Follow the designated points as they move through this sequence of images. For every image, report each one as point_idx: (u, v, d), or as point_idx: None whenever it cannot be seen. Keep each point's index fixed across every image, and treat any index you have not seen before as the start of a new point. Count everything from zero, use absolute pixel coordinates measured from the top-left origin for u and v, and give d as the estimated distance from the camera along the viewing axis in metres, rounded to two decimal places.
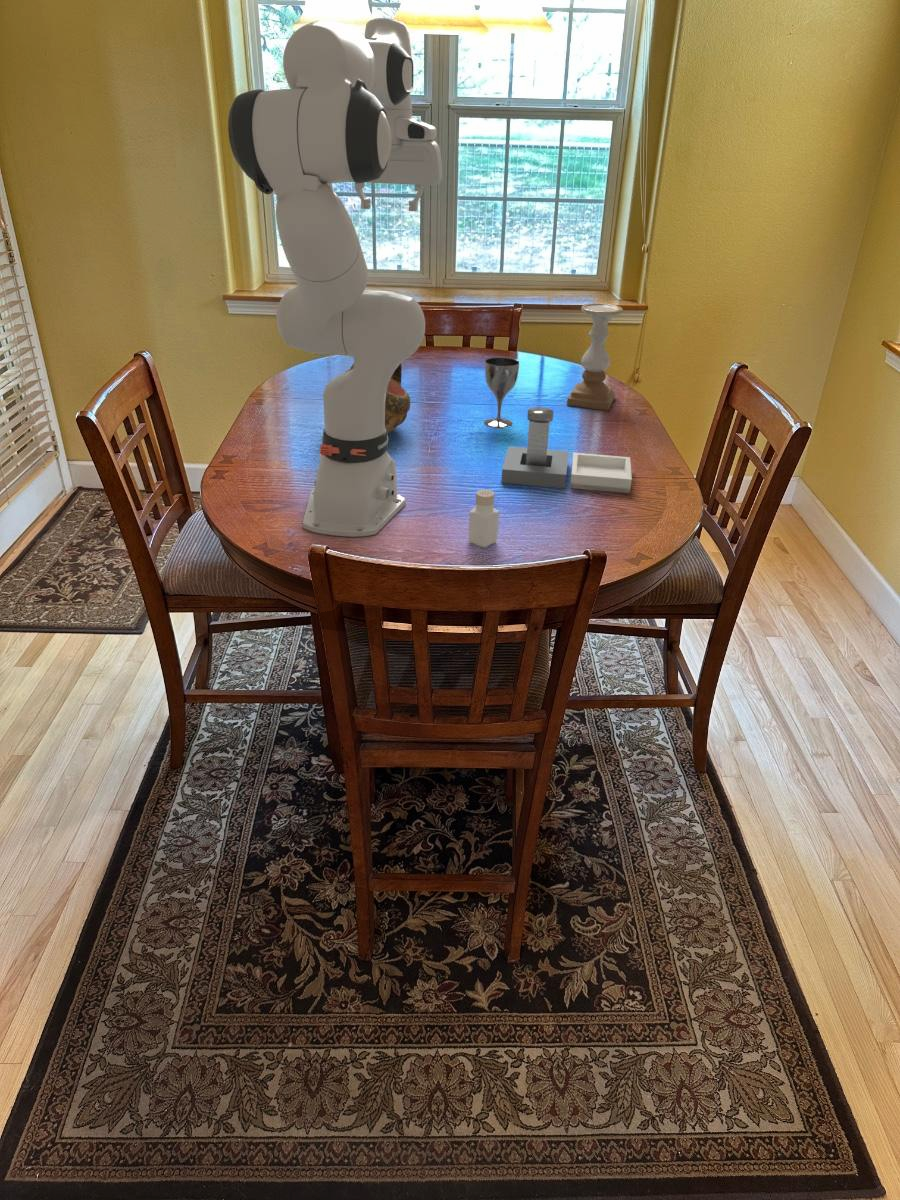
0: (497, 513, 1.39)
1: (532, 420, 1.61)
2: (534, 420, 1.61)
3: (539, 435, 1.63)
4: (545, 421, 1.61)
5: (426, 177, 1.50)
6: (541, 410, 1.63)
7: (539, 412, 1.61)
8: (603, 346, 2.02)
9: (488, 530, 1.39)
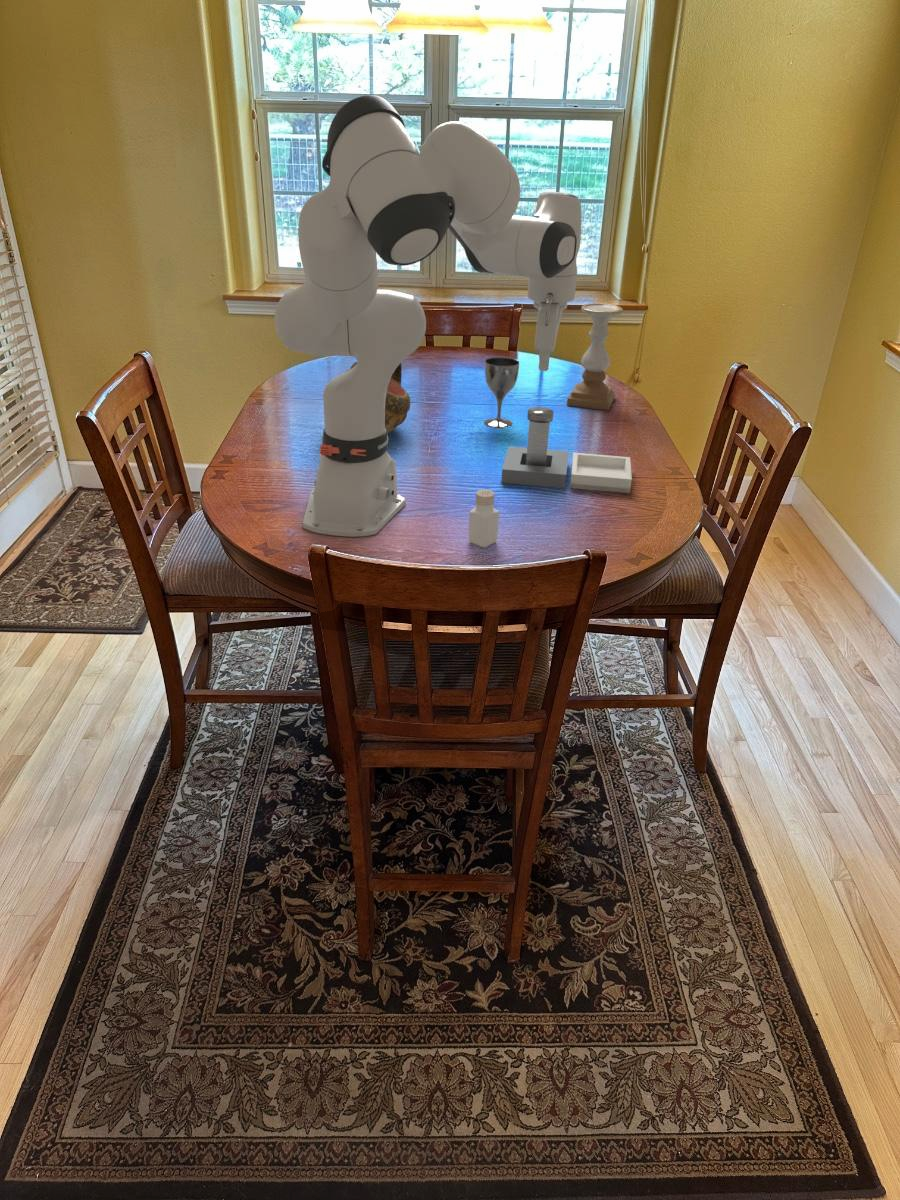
0: (497, 513, 1.39)
1: (532, 420, 1.61)
2: (534, 420, 1.61)
3: (539, 435, 1.63)
4: (545, 421, 1.61)
5: (559, 322, 1.60)
6: (541, 410, 1.63)
7: (539, 412, 1.61)
8: (603, 346, 2.02)
9: (488, 530, 1.39)
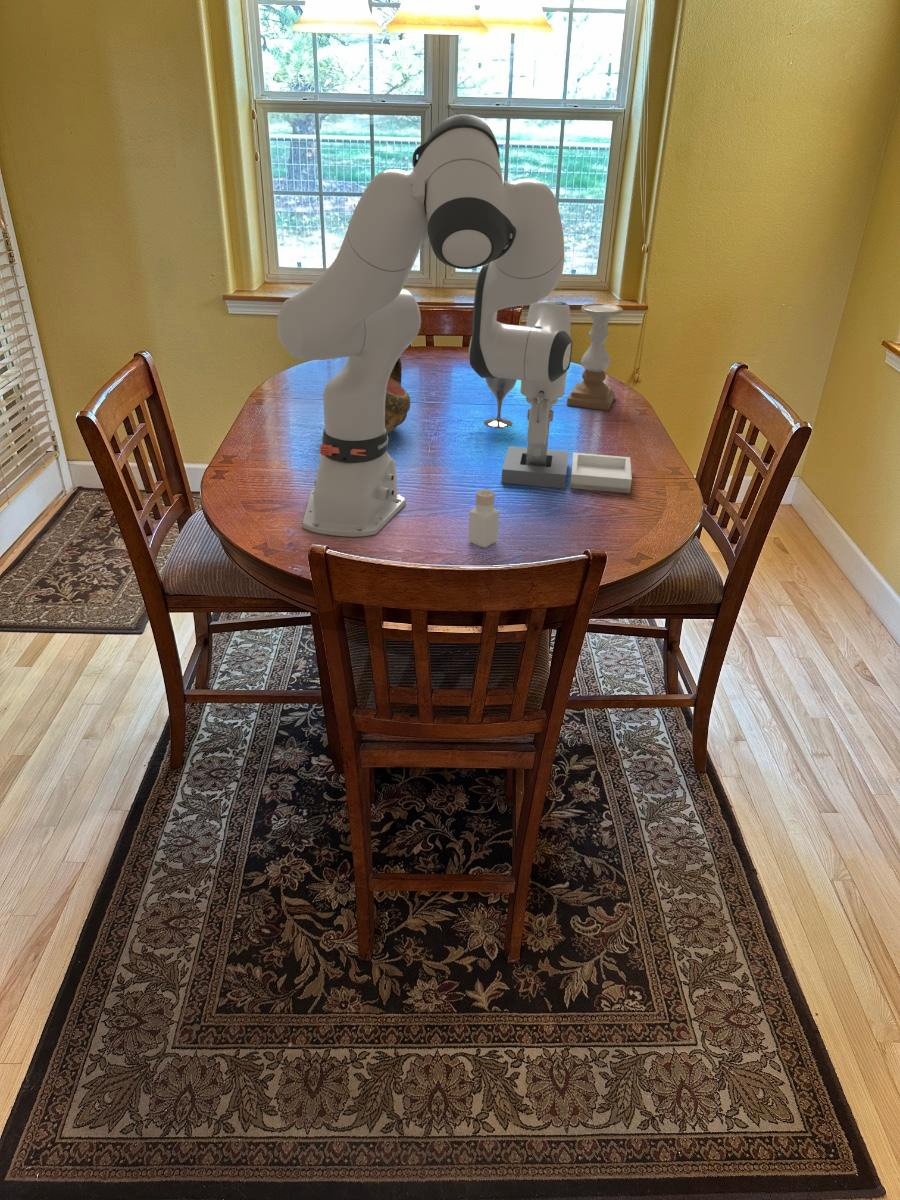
0: (497, 513, 1.39)
1: None
2: None
3: None
4: None
5: None
6: None
7: None
8: (603, 346, 2.02)
9: (488, 530, 1.39)
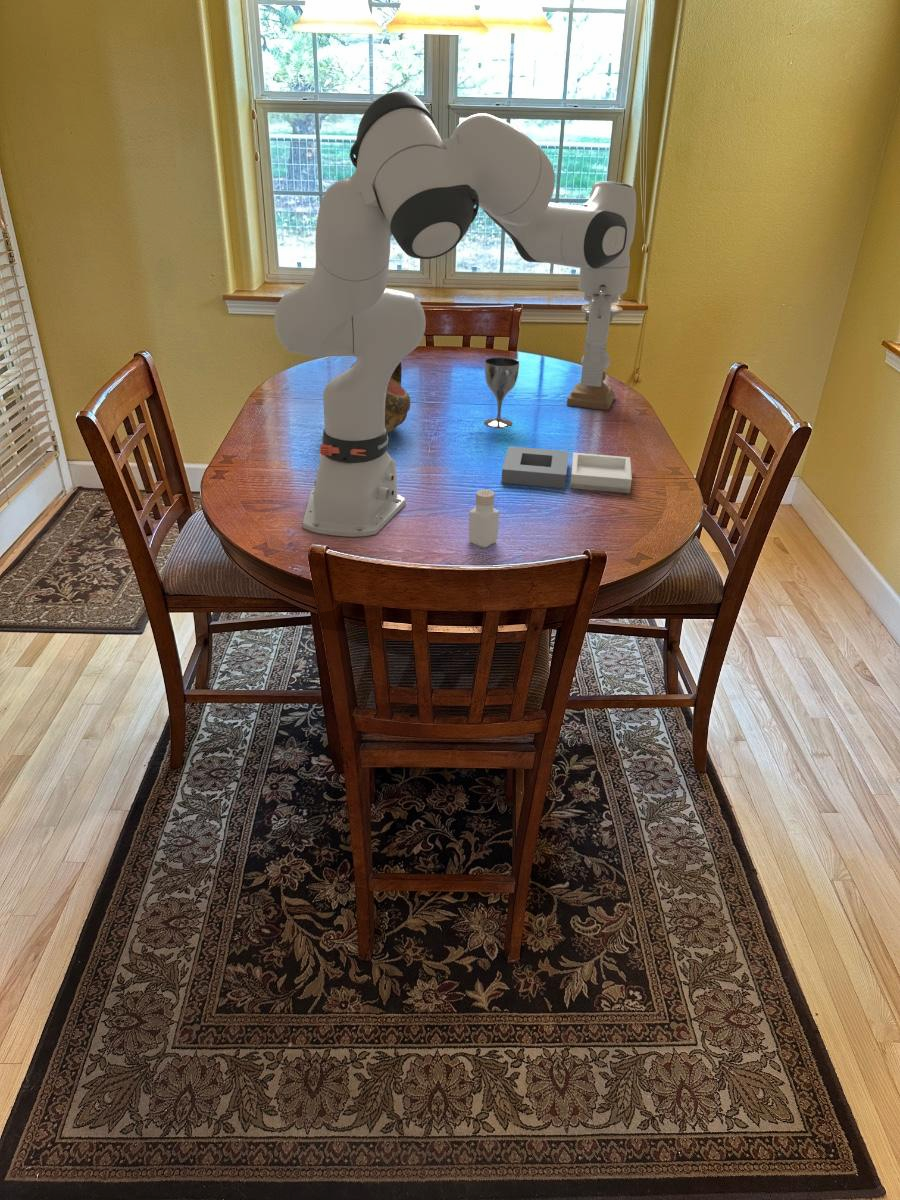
0: (497, 513, 1.39)
1: None
2: None
3: None
4: None
5: None
6: None
7: None
8: None
9: (488, 530, 1.39)
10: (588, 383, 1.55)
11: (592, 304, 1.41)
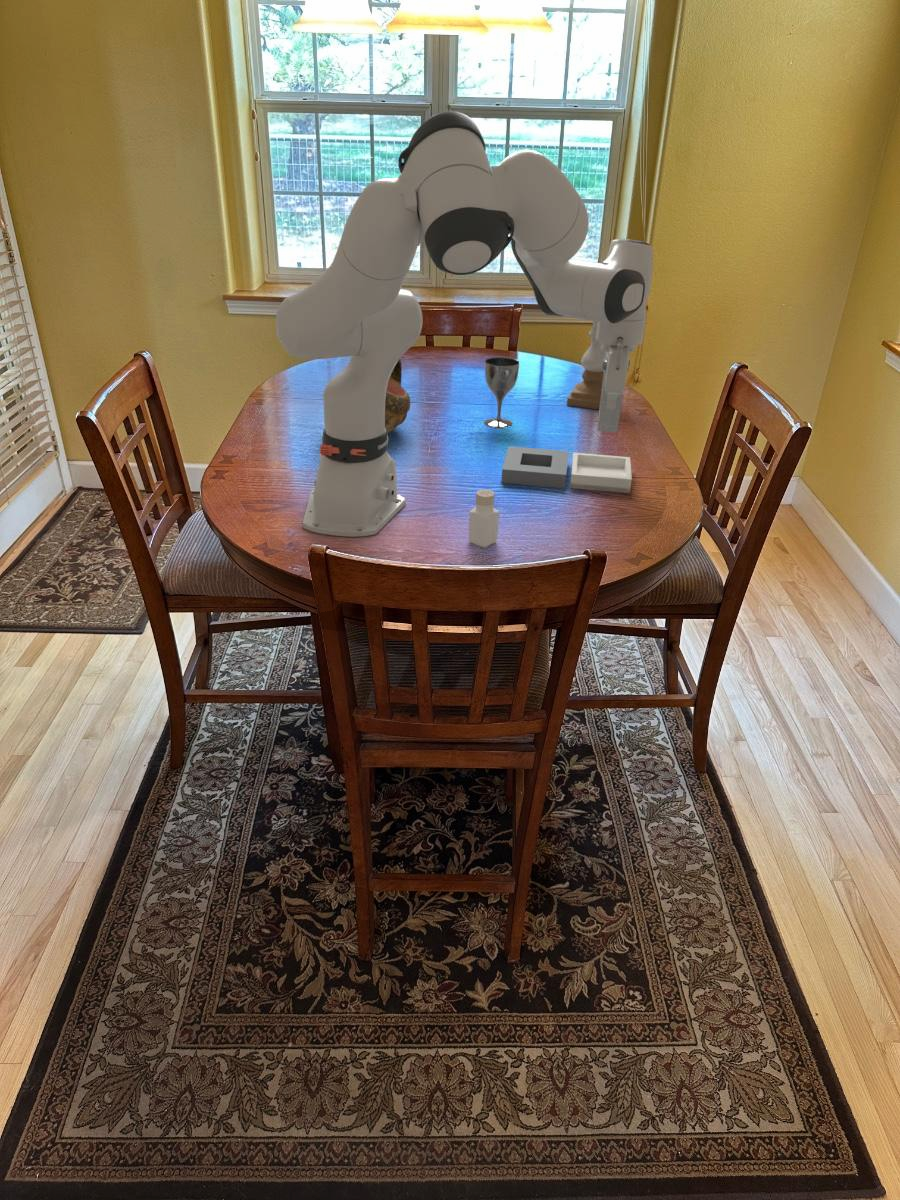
0: (497, 513, 1.39)
1: None
2: None
3: None
4: None
5: None
6: None
7: None
8: None
9: (488, 530, 1.39)
10: (605, 429, 1.60)
11: (610, 356, 1.45)
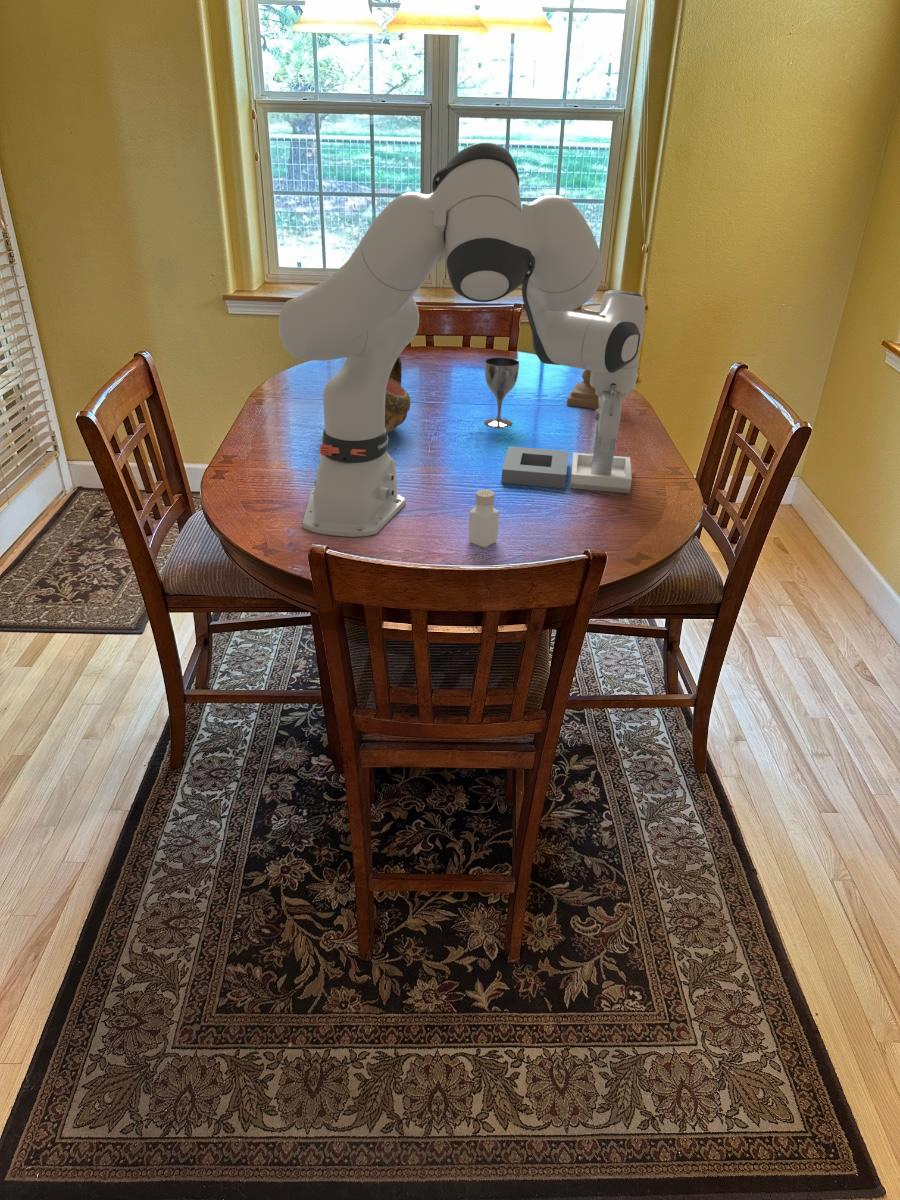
0: (497, 513, 1.39)
1: None
2: None
3: None
4: None
5: None
6: None
7: None
8: None
9: (488, 530, 1.39)
10: None
11: (604, 403, 1.50)
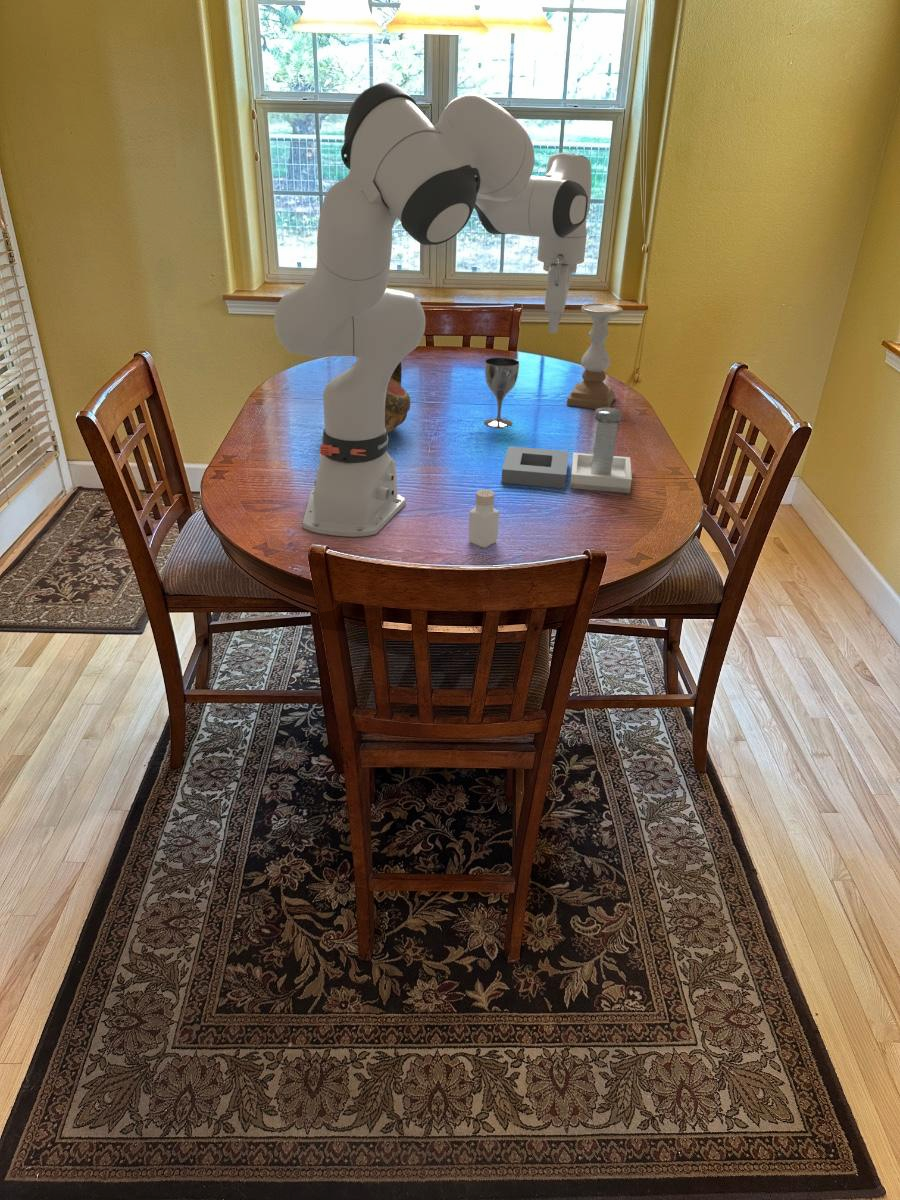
0: (497, 513, 1.39)
1: (600, 420, 1.59)
2: (603, 420, 1.59)
3: (607, 435, 1.60)
4: (614, 421, 1.58)
5: (568, 287, 1.62)
6: (609, 410, 1.61)
7: (607, 413, 1.59)
8: (603, 346, 2.02)
9: (488, 530, 1.39)
10: None
11: (549, 272, 1.45)
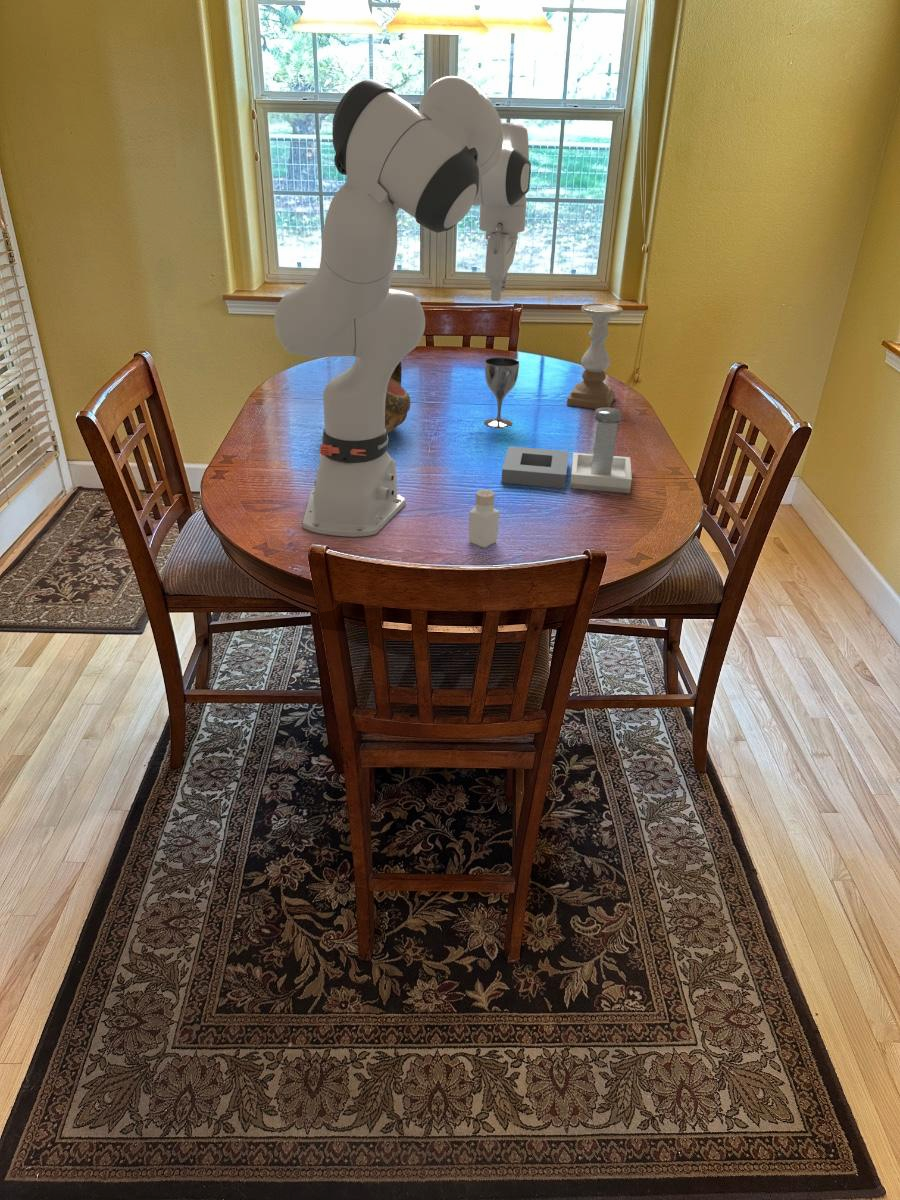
0: (497, 513, 1.39)
1: (600, 420, 1.59)
2: (603, 420, 1.59)
3: (607, 435, 1.60)
4: (614, 421, 1.58)
5: (512, 257, 1.65)
6: (609, 410, 1.61)
7: (607, 413, 1.59)
8: (603, 346, 2.02)
9: (488, 530, 1.39)
10: None
11: (488, 240, 1.49)
